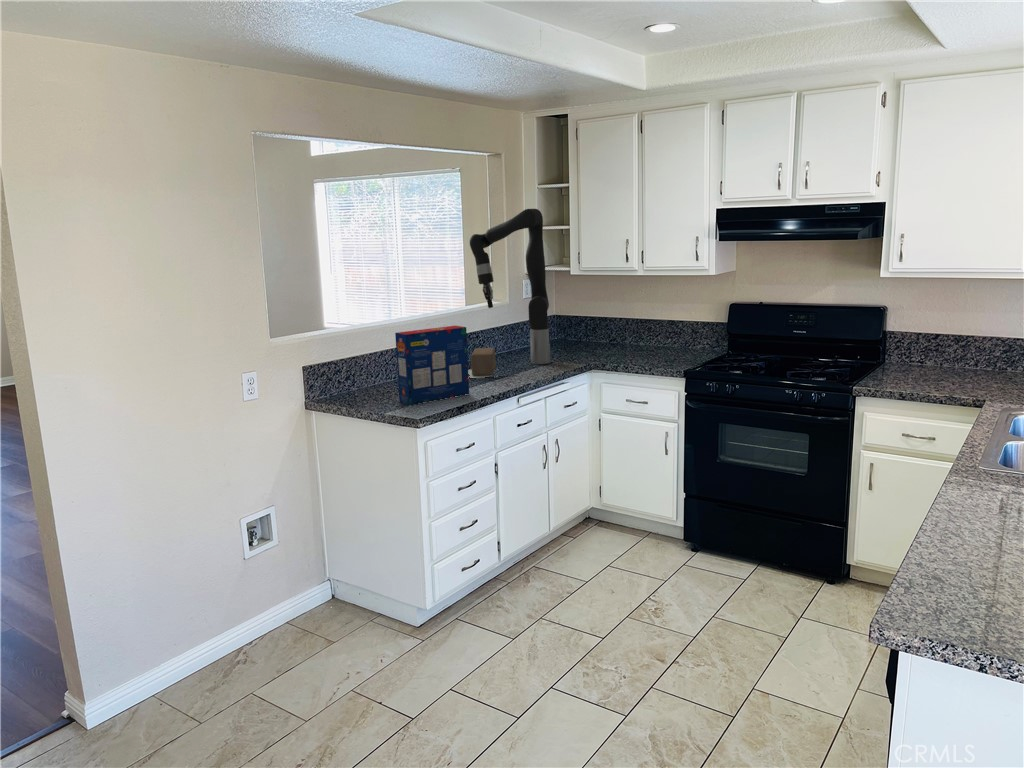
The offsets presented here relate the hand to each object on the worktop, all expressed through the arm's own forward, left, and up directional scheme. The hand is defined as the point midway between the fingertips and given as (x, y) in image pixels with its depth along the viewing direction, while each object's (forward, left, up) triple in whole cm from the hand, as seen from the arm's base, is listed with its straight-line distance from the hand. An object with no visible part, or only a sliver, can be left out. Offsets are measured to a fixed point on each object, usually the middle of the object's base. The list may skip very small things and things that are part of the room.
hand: (490, 307), depth 388 cm
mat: (+6, +33, -27) cm, 43 cm away
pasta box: (+35, +80, -28) cm, 91 cm away
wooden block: (+6, +20, -22) cm, 30 cm away
